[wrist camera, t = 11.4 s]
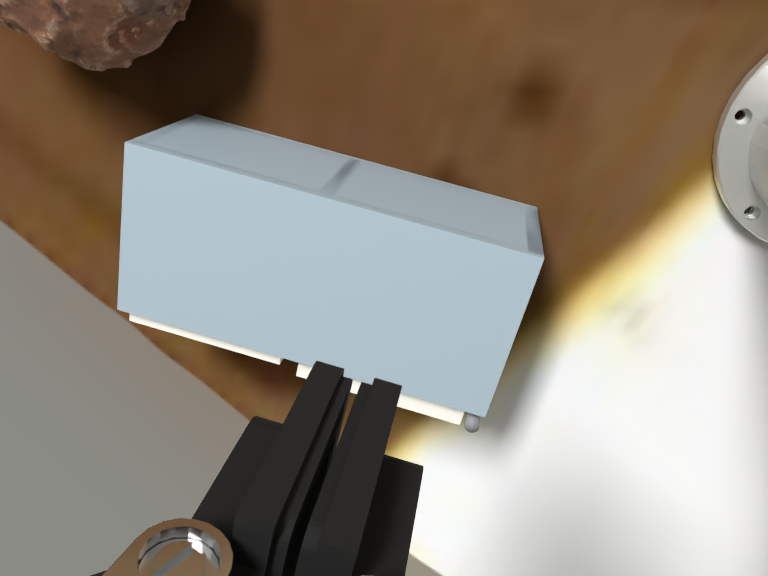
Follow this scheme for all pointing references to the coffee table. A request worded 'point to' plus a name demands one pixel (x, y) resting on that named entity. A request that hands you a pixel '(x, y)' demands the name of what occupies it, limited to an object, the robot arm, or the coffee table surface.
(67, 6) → the decorative rock
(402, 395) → the left door
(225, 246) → the cabinet
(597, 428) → the coffee table surface
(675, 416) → the coffee table surface
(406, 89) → the coffee table surface
